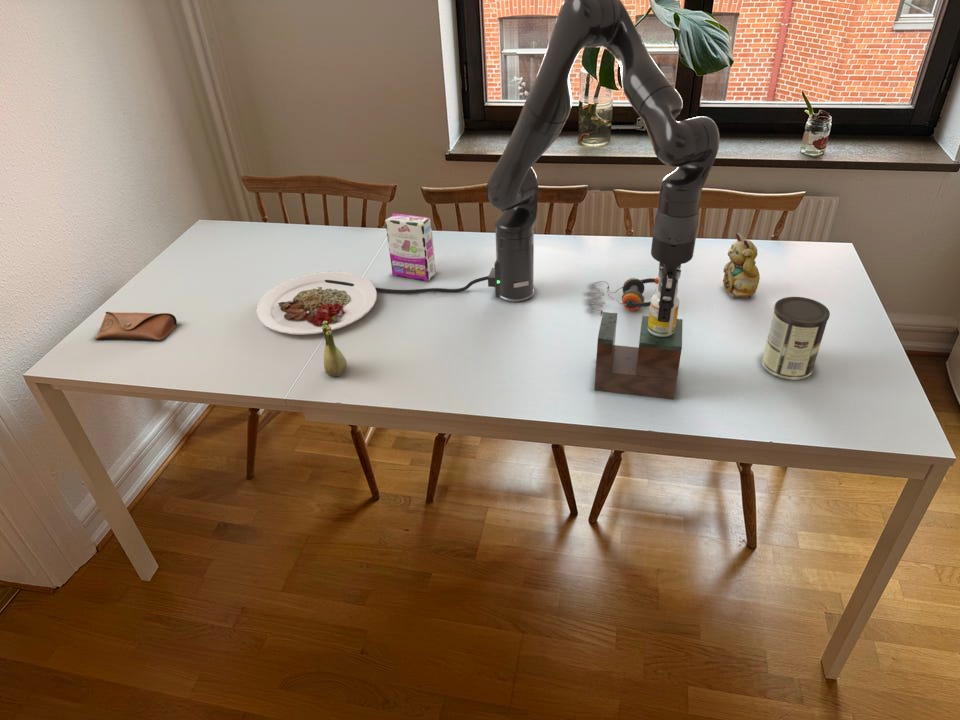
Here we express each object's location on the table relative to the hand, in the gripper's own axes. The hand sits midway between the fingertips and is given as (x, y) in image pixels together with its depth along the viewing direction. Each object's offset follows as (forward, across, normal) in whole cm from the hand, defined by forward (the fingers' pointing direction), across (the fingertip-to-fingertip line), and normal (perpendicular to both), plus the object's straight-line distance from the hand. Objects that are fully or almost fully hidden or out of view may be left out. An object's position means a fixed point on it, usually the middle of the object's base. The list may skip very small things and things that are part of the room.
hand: (664, 309), depth 133 cm
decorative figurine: (+18, -41, +19) cm, 49 cm away
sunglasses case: (+19, +3, -124) cm, 125 cm away
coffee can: (+18, -11, +27) cm, 34 cm away
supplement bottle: (+5, 0, 0) cm, 5 cm away
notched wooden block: (+18, 0, -4) cm, 18 cm away
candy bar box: (+18, -36, -65) cm, 76 cm away
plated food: (+18, -16, -84) cm, 87 cm away
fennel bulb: (+18, +9, -68) cm, 71 cm away
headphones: (+18, -31, -8) cm, 37 cm away
